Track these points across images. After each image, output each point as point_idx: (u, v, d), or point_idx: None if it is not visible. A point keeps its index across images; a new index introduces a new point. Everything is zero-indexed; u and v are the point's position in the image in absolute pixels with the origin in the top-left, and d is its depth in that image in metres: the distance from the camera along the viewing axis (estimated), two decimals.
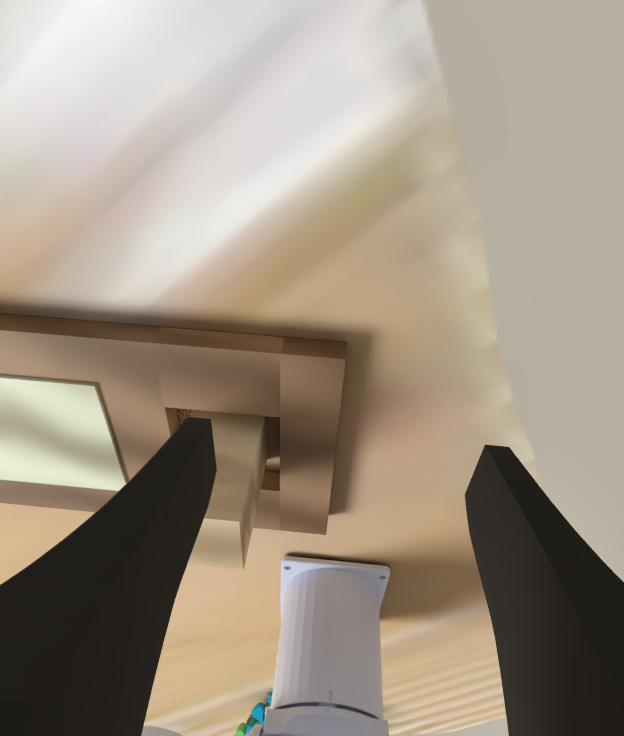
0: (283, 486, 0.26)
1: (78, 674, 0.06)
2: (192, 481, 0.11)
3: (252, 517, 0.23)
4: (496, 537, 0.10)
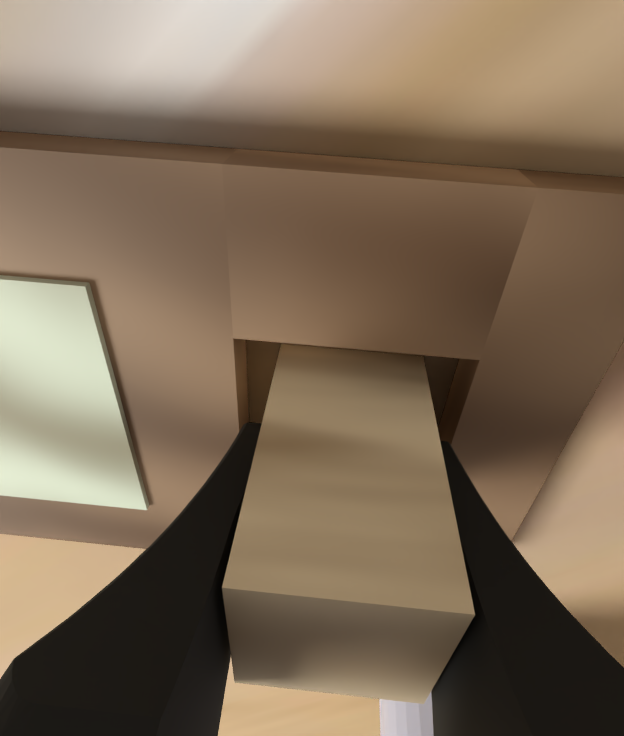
0: None
1: (186, 686, 0.06)
2: None
3: None
4: None
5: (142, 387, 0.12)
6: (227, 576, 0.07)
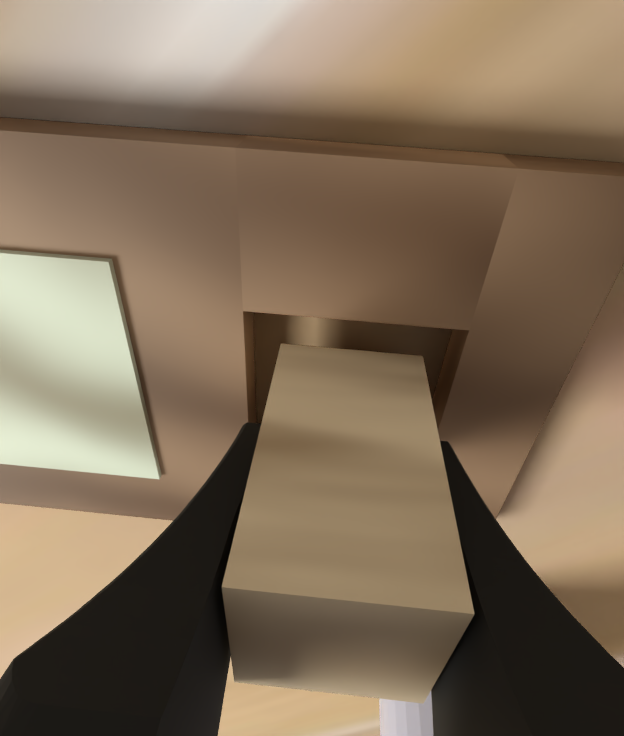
0: None
1: (186, 687, 0.06)
2: None
3: None
4: None
5: (158, 358, 0.13)
6: (227, 575, 0.07)
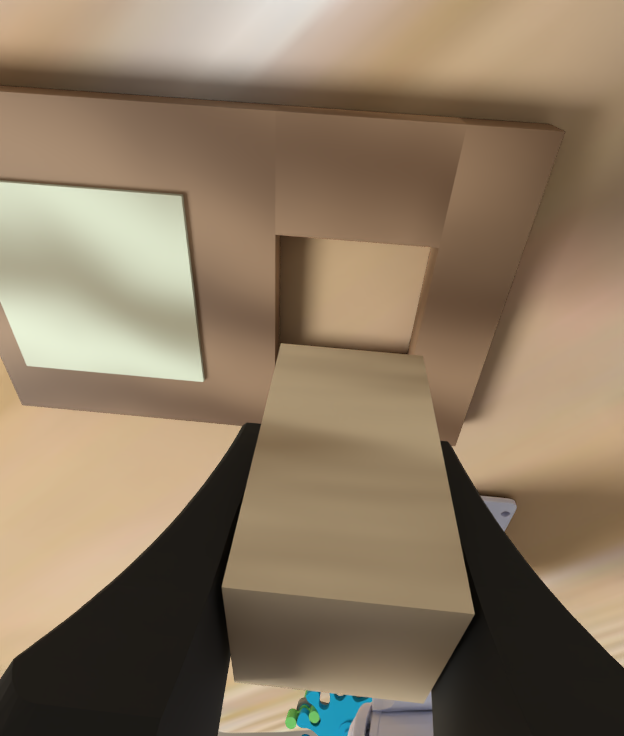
0: None
1: (186, 686, 0.06)
2: None
3: None
4: None
5: (210, 275, 0.18)
6: (227, 576, 0.07)
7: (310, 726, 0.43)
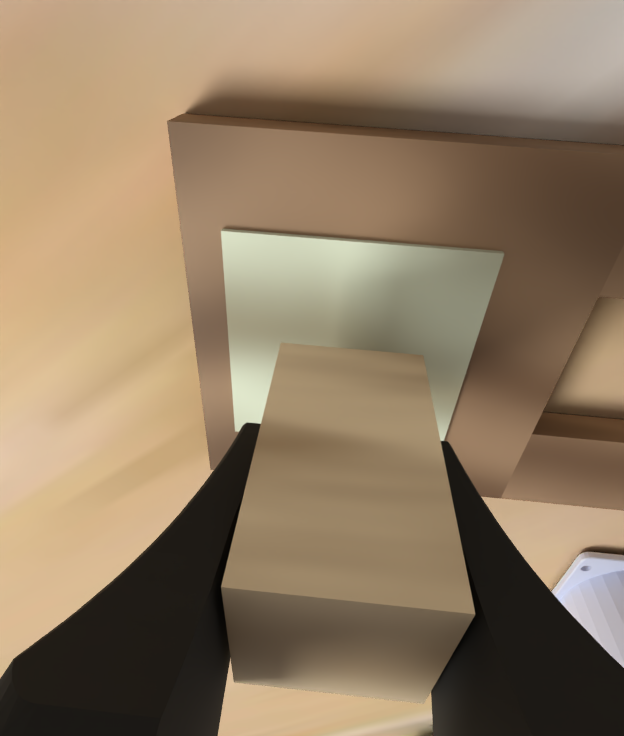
0: None
1: (186, 687, 0.06)
2: None
3: None
4: None
5: (496, 339, 0.15)
6: (226, 576, 0.07)
7: None
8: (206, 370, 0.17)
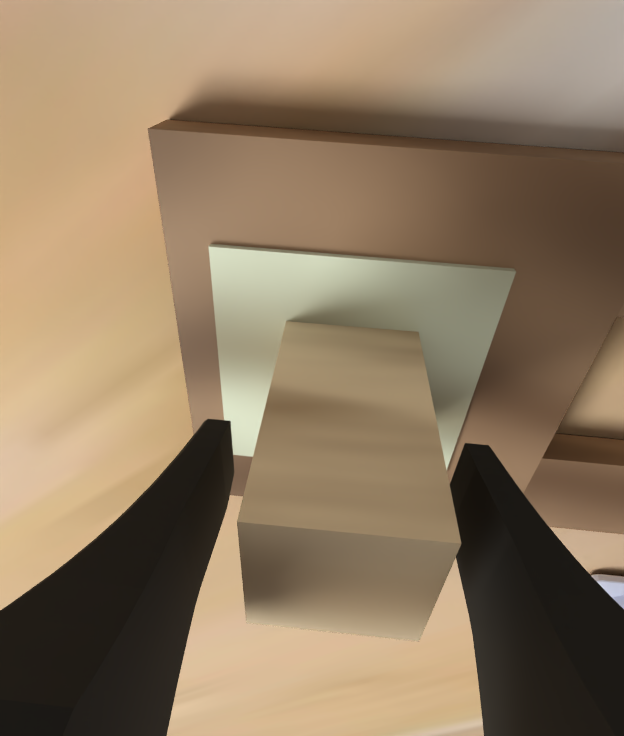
0: None
1: (113, 678, 0.06)
2: (213, 483, 0.11)
3: None
4: (474, 535, 0.10)
5: (505, 361, 0.14)
6: (241, 512, 0.08)
7: None
8: (195, 391, 0.16)
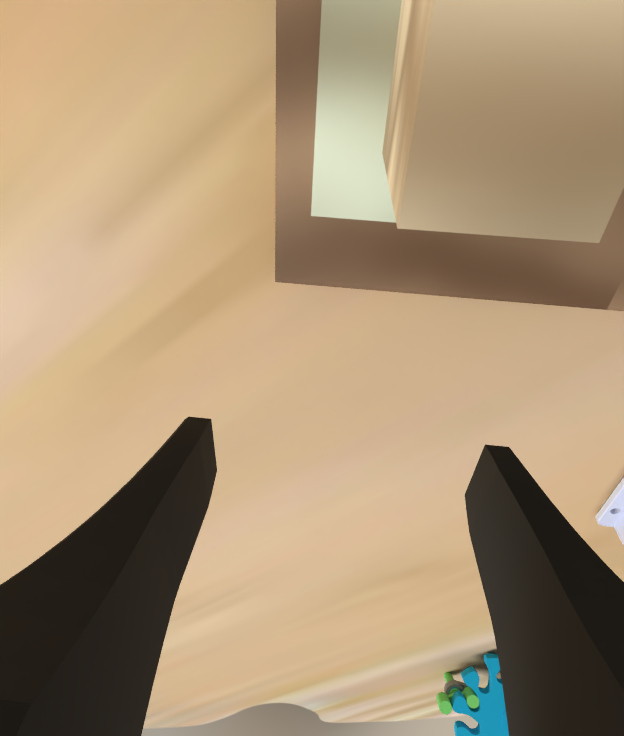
0: None
1: (77, 674, 0.06)
2: (192, 481, 0.11)
3: None
4: (496, 538, 0.10)
5: None
6: None
7: (468, 712, 0.38)
8: (285, 122, 0.15)
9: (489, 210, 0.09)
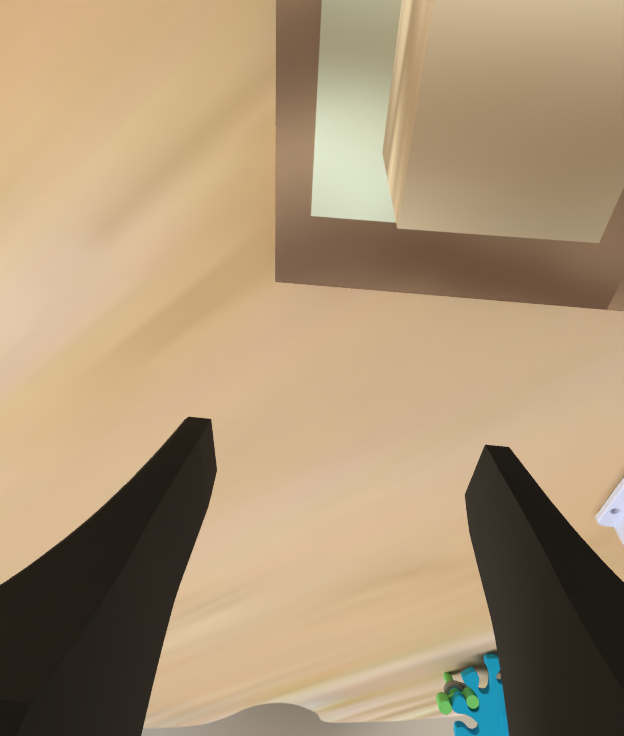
0: None
1: (77, 674, 0.06)
2: (192, 481, 0.11)
3: None
4: (496, 538, 0.10)
5: None
6: None
7: (468, 712, 0.38)
8: (285, 122, 0.15)
9: (489, 210, 0.09)
